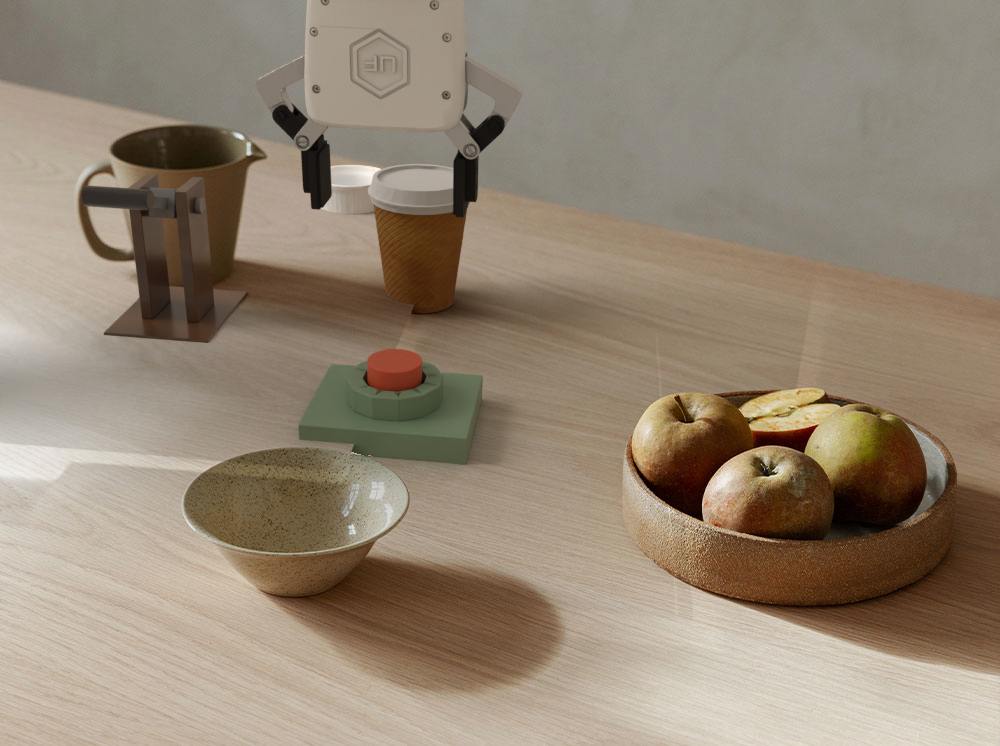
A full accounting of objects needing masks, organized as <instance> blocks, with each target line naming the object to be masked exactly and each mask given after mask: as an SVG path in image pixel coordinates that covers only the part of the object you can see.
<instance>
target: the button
mask: <svg viewBox="0 0 1000 746" xmlns="http://www.w3.org/2000/svg"><path fill="white" fill-rule="evenodd" d="M366 361H367V381H368V384H369V386H370V387H373V388H375V389H378V390H383V391H396V392H399V391H405V390H411V389H414V388H416V387H418V386H420V385H421V383H422V361H423V358H422V357H421V355H420V354H418V353H416V352H415V351H412V350H409V349H405V348H404V349H403V348H386V349H381V350H378V351H375V352H373V353H372V354H370V355H368V358H367V360H366Z"/></svg>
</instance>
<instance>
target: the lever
mask: <svg viewBox="0 0 1000 746" xmlns="http://www.w3.org/2000/svg"><path fill="white" fill-rule="evenodd" d="M177 189H178V188H162V187H159V188H149V190H148V189H133V188H129V187H119V186H118V187H117V186H102V185H101V186H100V185H89V184H88V185H84V186H83V187H82V190H81V196H80V197H81V201H82V202H81V203H82V205H83V206H84V207H87V208H88V207H91V208H104V209H121V210H129V209H132V210H147V211H149V217H160V218H162V219H176V220H177V213H176V203H175V191H176V190H177Z"/></svg>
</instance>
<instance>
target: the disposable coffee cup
mask: <svg viewBox="0 0 1000 746" xmlns="http://www.w3.org/2000/svg"><path fill="white" fill-rule="evenodd" d="M380 169H381V170H379V171H377V172H376V173H374V175H373V178H372V183H371V185H370V186H369V188H368V194H369V196H370V197H371V201H372V203H373V205H374V212H373V213H374V218H375V219H374V220H375V226H376V233H377V239H378V246H379V247H378V248H379V253H380V263H381V266H382V267H381V268H382V275H383V282H384V283H383V284H384V290H385V294H386V295H387V297H388V298H389V299H391V300H394V301H396V302H399V303H402V304H407V305H413V307H412V309H411V312H410V313H414V314H431V313H436V312H437V313H438V312H441V311H443V310H447V309H448V308H450V307H452V305H453V304H454V301H455V294H456V293H455V292H456V285H457V280H458V273H459V266H460V259H461V253H462V246H463V240H464V233H465V227H466V226H465V225H466V220H467V214H468V213H467V212H468V210H467V211H466V213H465V216H464V218H462V217H456V215H453V167H451V166H445V165H439V164H429V163H408V164H397V165H391V166H387V167H384V168H380ZM470 203H471V202H469V204H470Z"/></svg>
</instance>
